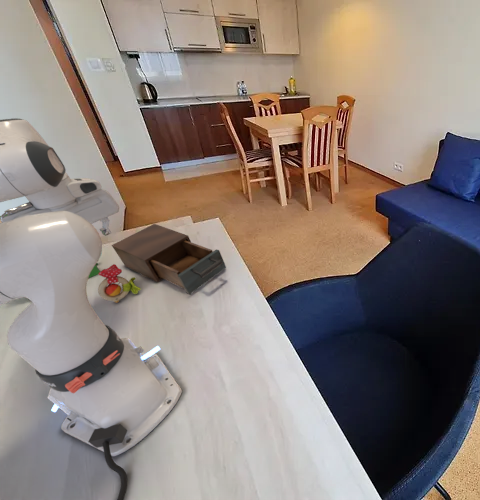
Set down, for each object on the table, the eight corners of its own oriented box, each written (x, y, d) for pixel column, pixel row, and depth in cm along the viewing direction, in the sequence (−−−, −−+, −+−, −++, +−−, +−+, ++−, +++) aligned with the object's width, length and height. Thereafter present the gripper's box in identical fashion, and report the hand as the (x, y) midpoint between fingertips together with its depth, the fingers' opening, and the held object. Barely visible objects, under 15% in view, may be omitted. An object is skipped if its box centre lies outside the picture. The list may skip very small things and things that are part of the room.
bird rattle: (126, 310, 87) (149, 284, 90) (88, 294, 78) (114, 266, 81) (117, 302, 90) (140, 277, 93) (79, 286, 81) (105, 259, 85)
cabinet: (198, 256, 103) (188, 235, 98) (157, 282, 93) (144, 260, 88) (165, 243, 112) (154, 223, 107) (125, 266, 102) (111, 245, 97)
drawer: (237, 271, 92) (230, 253, 89) (200, 300, 83) (190, 281, 80) (190, 253, 103) (182, 236, 99) (153, 276, 94) (142, 259, 90)
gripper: (-1, 217, 61) (45, 269, 69) (105, 179, 75) (133, 226, 83) (-11, 211, 64) (34, 262, 72) (93, 176, 78) (121, 222, 86)
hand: (88, 243), depth 78 cm, fingers open, 8 cm apart
